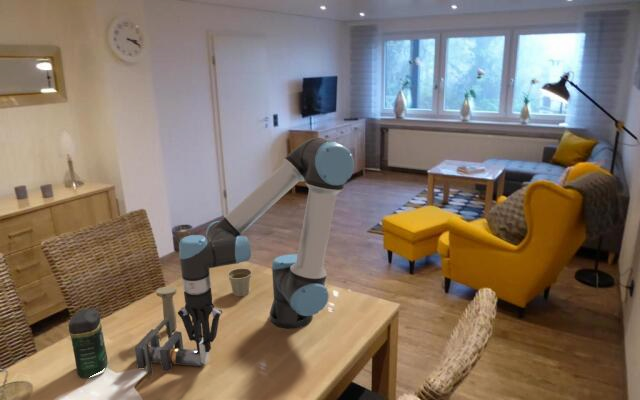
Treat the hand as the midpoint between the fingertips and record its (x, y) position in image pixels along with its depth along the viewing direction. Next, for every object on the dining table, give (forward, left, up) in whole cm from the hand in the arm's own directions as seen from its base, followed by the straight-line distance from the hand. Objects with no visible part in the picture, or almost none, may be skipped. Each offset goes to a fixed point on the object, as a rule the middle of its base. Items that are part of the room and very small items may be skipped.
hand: (205, 360), depth 134 cm
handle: (+19, -16, -2) cm, 25 cm away
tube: (+10, 0, -2) cm, 10 cm away
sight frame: (+14, 0, -2) cm, 15 cm away
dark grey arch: (+10, 0, -2) cm, 11 cm away
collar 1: (+18, 0, -2) cm, 19 cm away
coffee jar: (+32, +7, -2) cm, 33 cm away
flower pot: (+4, -44, -2) cm, 44 cm away
